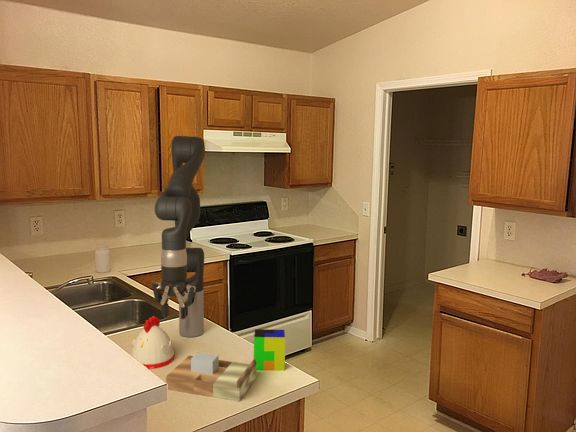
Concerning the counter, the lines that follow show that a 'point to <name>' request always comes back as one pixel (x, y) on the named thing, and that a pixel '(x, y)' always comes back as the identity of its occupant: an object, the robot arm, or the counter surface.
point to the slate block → (204, 363)
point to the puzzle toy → (269, 349)
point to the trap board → (213, 379)
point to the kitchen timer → (153, 346)
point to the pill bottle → (102, 259)
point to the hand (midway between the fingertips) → (174, 317)
